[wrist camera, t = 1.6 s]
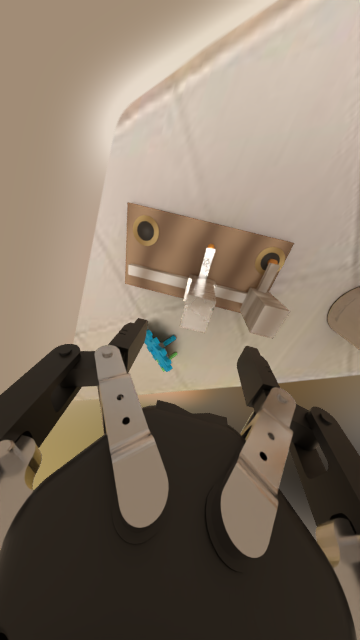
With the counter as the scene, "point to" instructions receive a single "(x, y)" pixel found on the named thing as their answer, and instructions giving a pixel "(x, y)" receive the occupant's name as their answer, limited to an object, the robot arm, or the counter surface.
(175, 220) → the plate
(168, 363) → the blue branching piece
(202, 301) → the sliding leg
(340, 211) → the counter surface
